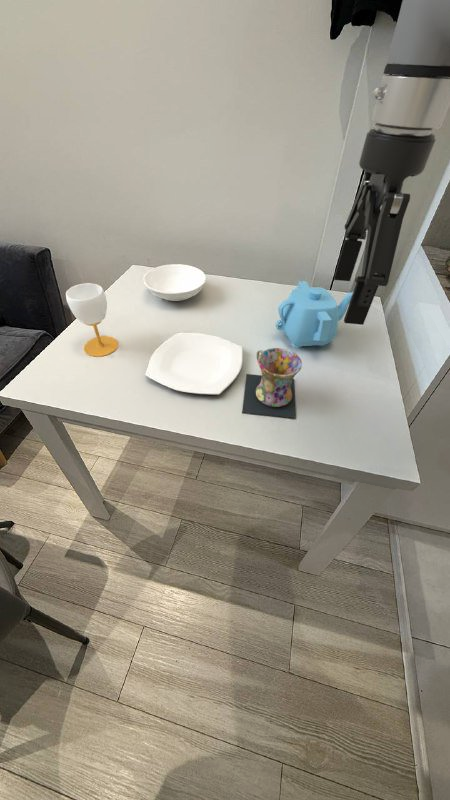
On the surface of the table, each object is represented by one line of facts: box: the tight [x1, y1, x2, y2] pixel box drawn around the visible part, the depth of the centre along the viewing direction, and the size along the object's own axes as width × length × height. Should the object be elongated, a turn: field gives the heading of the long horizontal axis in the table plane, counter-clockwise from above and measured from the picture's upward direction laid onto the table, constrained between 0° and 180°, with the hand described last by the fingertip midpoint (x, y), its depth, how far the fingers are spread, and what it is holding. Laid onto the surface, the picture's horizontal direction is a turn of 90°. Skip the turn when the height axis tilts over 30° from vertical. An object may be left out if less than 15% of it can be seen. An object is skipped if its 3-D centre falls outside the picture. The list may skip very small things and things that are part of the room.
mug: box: [256, 347, 303, 407], centre depth 74 cm, size 12×9×11 cm
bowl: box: [142, 263, 207, 302], centre depth 106 cm, size 20×20×6 cm
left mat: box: [241, 373, 297, 420], centre depth 77 cm, size 13×12×1 cm
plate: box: [145, 332, 244, 396], centre depth 83 cm, size 23×23×2 cm
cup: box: [65, 282, 119, 358], centre depth 83 cm, size 9×9×16 cm
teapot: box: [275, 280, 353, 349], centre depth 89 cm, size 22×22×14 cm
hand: (346, 299), depth 53 cm, fingers open, 13 cm apart
